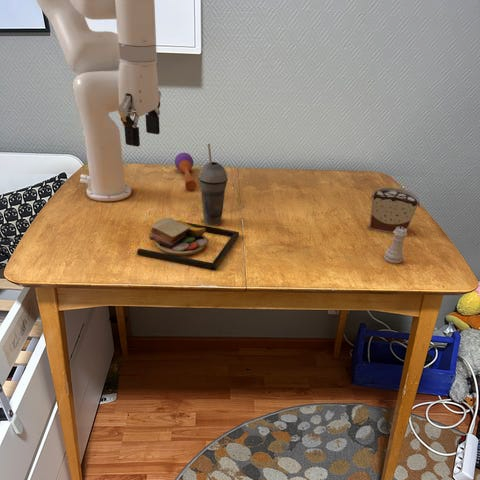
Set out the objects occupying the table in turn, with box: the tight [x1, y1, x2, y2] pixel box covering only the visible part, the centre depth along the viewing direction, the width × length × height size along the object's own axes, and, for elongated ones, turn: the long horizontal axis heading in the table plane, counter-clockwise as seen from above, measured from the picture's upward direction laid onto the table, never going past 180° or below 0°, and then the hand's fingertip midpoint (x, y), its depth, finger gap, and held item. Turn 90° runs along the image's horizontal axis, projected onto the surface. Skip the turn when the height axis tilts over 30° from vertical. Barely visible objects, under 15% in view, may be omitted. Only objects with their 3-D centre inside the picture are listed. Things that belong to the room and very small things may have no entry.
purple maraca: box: [174, 152, 197, 192], centre depth 146 cm, size 6×6×20 cm
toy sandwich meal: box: [148, 217, 208, 257], centre depth 112 cm, size 12×14×5 cm
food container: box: [368, 187, 421, 234], centre depth 123 cm, size 12×6×10 cm, turn 71°
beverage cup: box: [198, 143, 228, 226], centre depth 118 cm, size 7×7×20 cm
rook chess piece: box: [383, 227, 408, 264], centre depth 110 cm, size 4×4×8 cm
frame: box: [136, 219, 240, 271], centre depth 113 cm, size 19×18×1 cm
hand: (143, 139), depth 106 cm, fingers open, 9 cm apart
